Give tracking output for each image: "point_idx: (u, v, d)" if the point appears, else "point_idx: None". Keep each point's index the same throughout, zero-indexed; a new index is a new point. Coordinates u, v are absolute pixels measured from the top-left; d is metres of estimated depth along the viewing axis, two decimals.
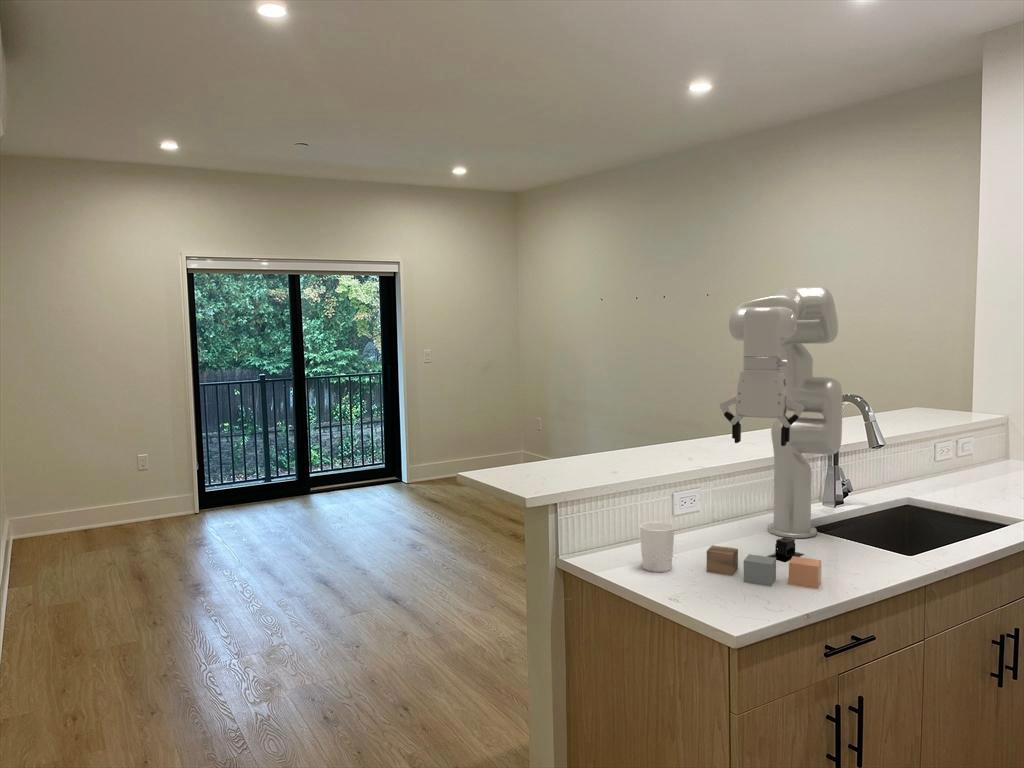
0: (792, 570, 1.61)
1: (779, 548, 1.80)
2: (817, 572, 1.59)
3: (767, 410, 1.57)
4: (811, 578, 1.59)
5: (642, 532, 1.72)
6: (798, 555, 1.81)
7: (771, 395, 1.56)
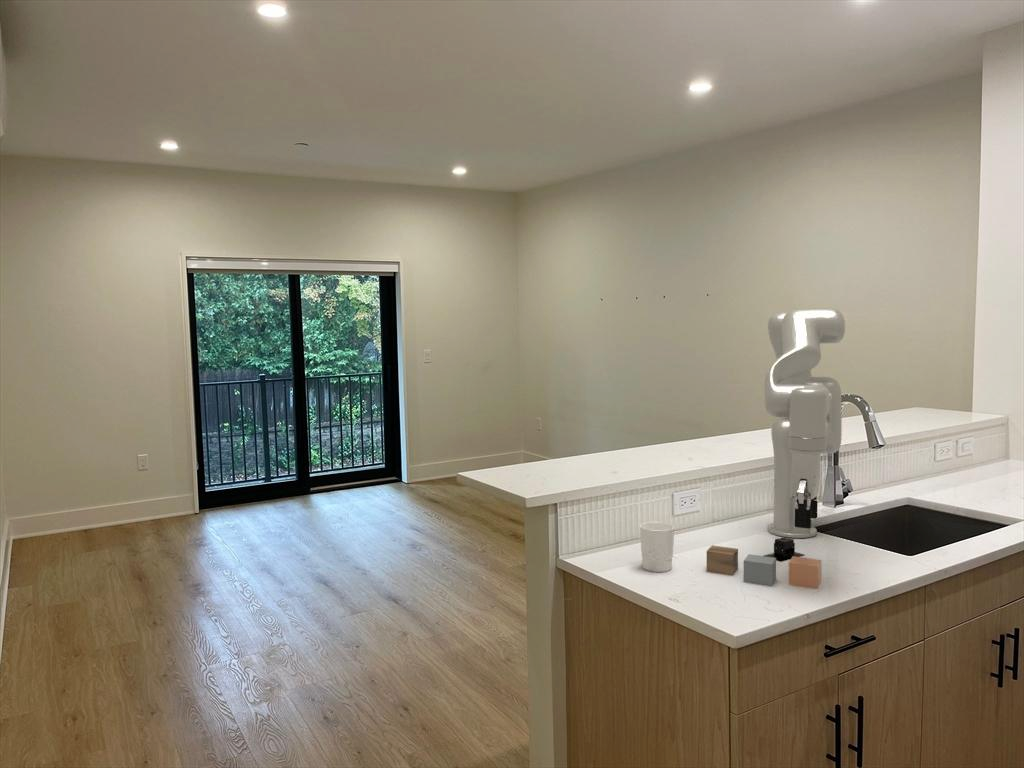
0: (792, 570, 1.61)
1: (777, 547, 1.81)
2: (817, 572, 1.59)
3: (818, 487, 1.61)
4: (811, 578, 1.59)
5: (642, 532, 1.72)
6: (797, 555, 1.81)
7: None
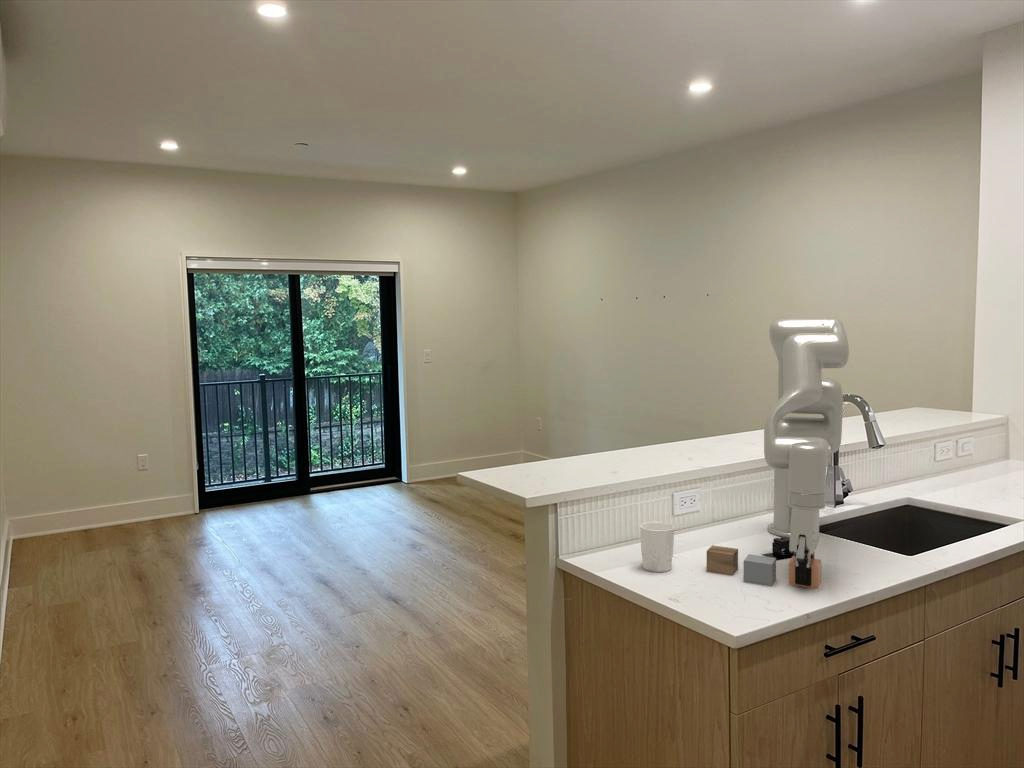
0: (792, 570, 1.61)
1: (775, 547, 1.81)
2: (817, 572, 1.59)
3: (817, 541, 1.62)
4: (811, 578, 1.59)
5: (642, 532, 1.72)
6: None
7: None
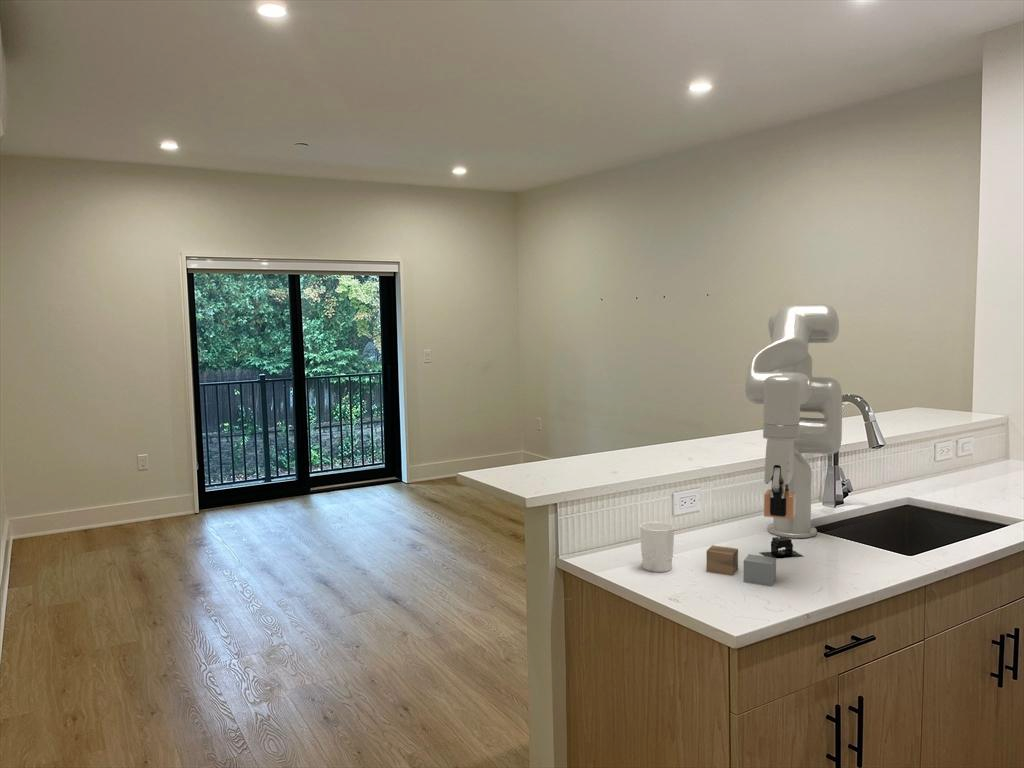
0: (767, 502, 1.63)
1: (773, 546, 1.82)
2: (792, 502, 1.60)
3: (792, 473, 1.64)
4: (786, 508, 1.61)
5: (642, 532, 1.72)
6: (794, 556, 1.81)
7: (793, 458, 1.64)
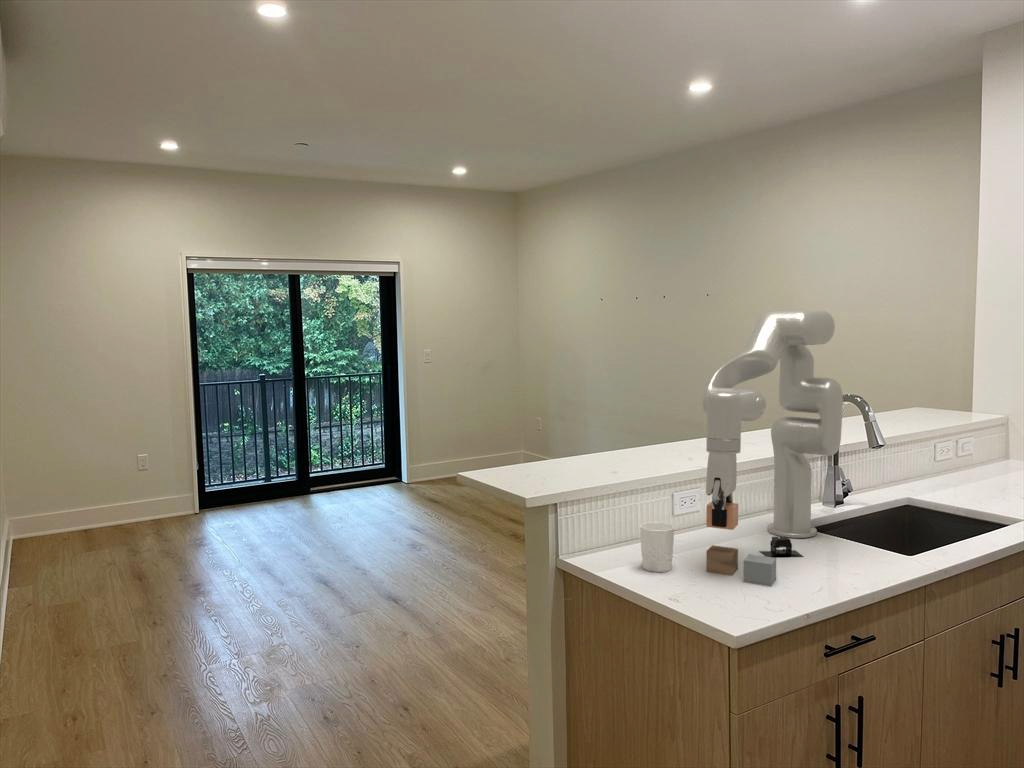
0: (709, 513, 1.69)
1: (772, 545, 1.83)
2: (732, 513, 1.67)
3: (734, 486, 1.70)
4: (727, 519, 1.67)
5: (642, 532, 1.72)
6: (793, 556, 1.81)
7: (735, 471, 1.70)
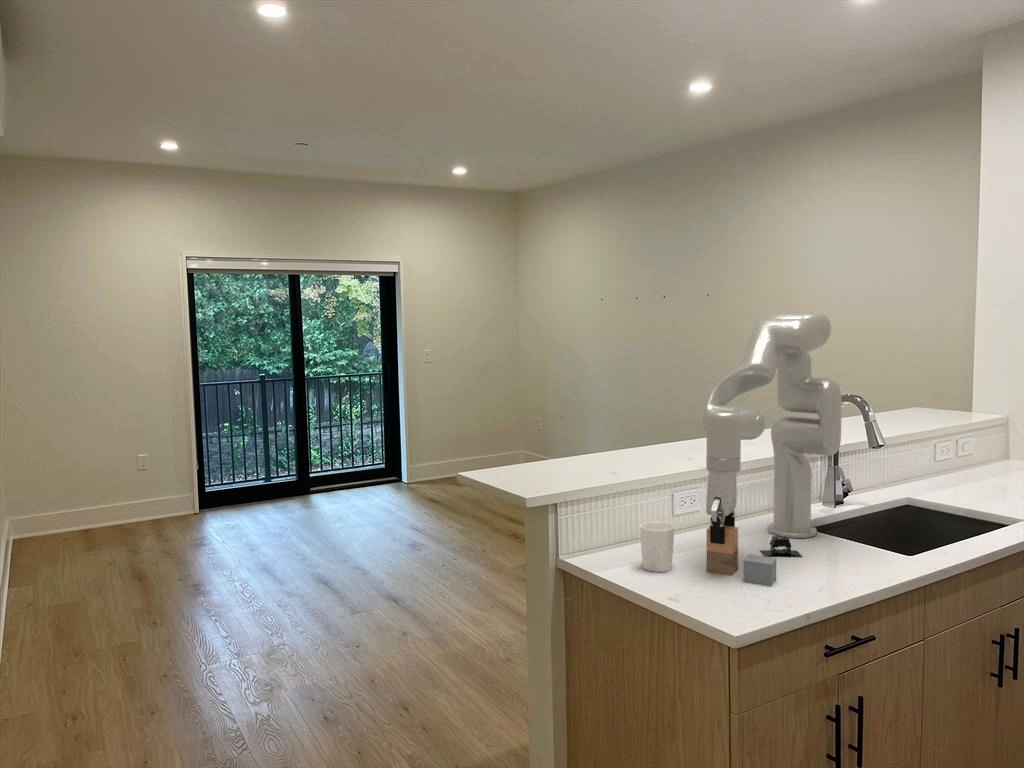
0: (709, 537, 1.70)
1: (771, 544, 1.84)
2: (732, 538, 1.67)
3: (734, 504, 1.71)
4: (727, 544, 1.68)
5: (642, 532, 1.72)
6: (792, 556, 1.81)
7: (735, 490, 1.71)
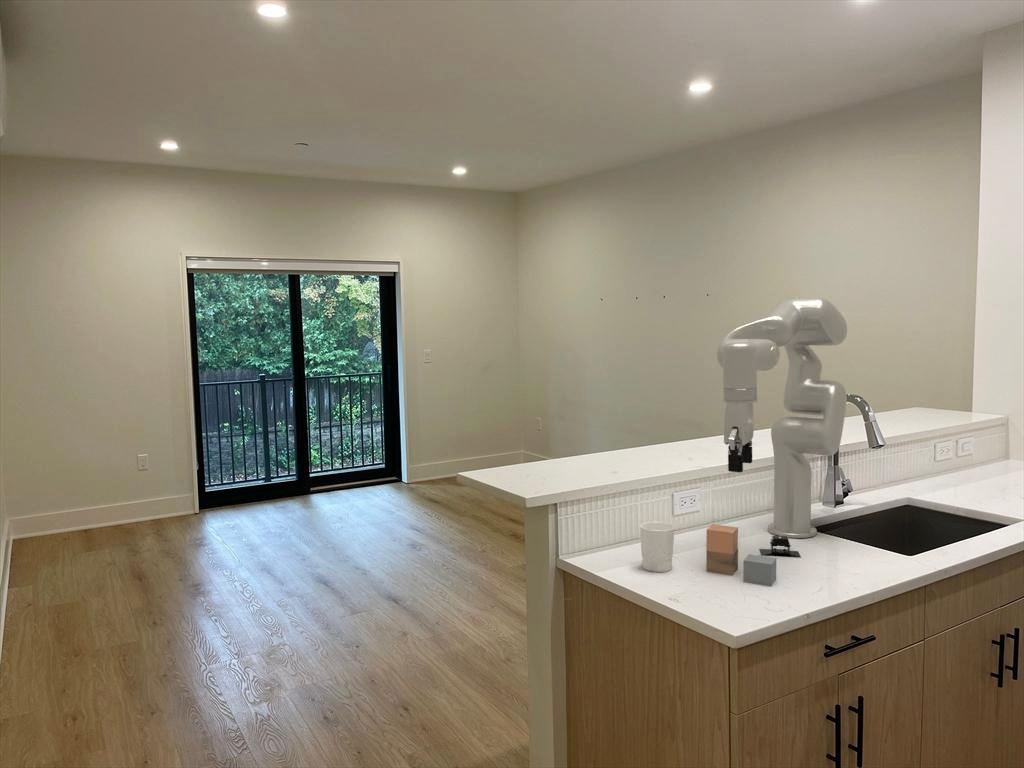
0: (709, 537, 1.70)
1: (771, 543, 1.84)
2: (732, 538, 1.67)
3: (751, 434, 1.73)
4: (727, 544, 1.68)
5: (642, 532, 1.72)
6: (790, 555, 1.81)
7: (752, 420, 1.74)
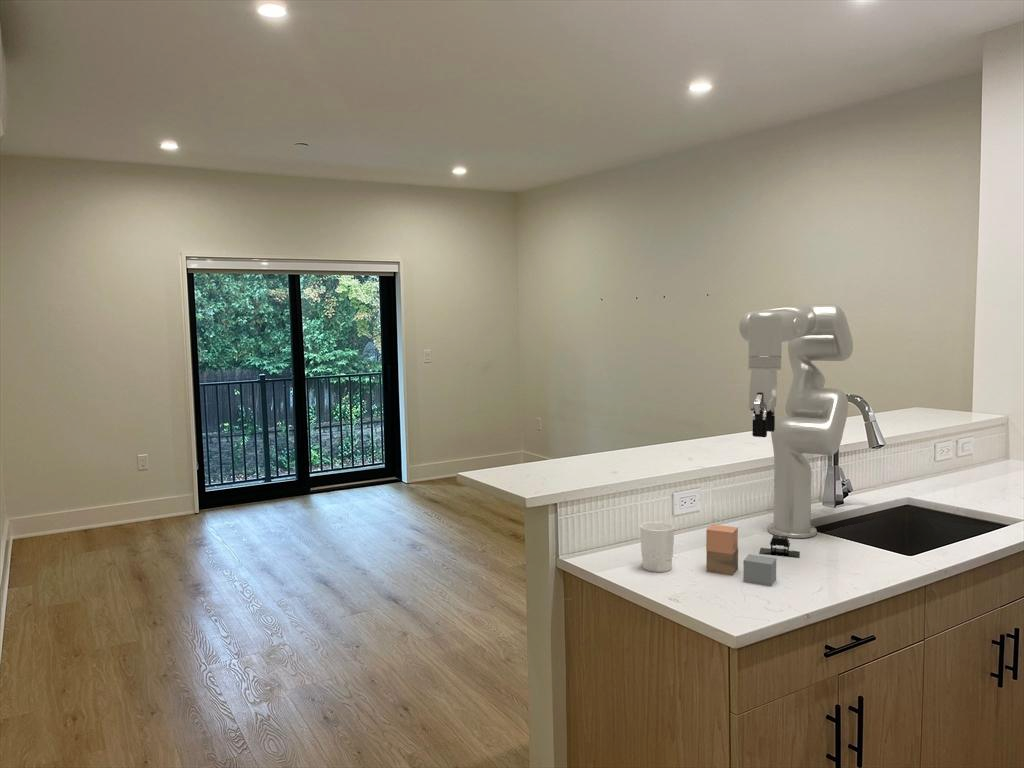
0: (709, 537, 1.70)
1: None
2: (732, 538, 1.67)
3: (775, 402, 1.79)
4: (727, 544, 1.68)
5: (642, 532, 1.72)
6: (788, 555, 1.81)
7: (776, 389, 1.79)
